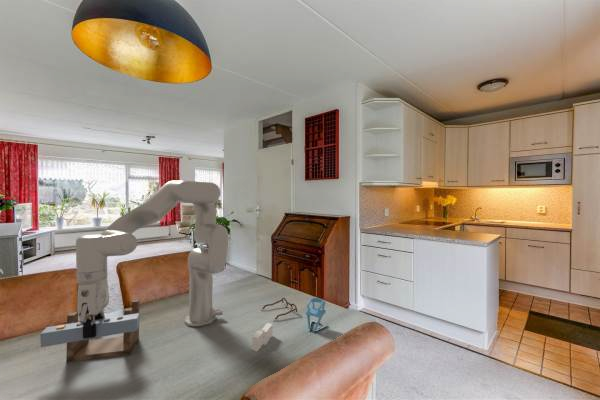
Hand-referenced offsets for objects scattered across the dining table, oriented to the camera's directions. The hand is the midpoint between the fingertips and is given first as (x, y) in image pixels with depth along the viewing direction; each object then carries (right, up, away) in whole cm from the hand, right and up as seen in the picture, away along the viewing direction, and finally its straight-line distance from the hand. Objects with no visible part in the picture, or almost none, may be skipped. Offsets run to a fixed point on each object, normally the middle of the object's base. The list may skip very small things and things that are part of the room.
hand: (93, 332), depth 83 cm
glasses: (+54, -13, +43) cm, 71 cm away
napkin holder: (+50, -13, +17) cm, 54 cm away
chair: (+71, -13, +29) cm, 78 cm away
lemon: (-17, -11, +23) cm, 30 cm away
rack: (-4, -11, +10) cm, 15 cm away
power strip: (0, -1, 0) cm, 1 cm away
